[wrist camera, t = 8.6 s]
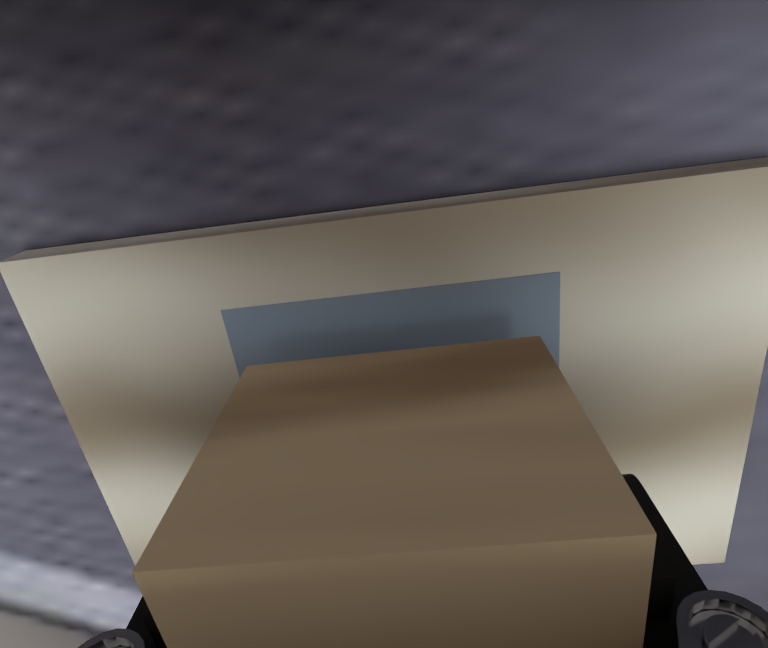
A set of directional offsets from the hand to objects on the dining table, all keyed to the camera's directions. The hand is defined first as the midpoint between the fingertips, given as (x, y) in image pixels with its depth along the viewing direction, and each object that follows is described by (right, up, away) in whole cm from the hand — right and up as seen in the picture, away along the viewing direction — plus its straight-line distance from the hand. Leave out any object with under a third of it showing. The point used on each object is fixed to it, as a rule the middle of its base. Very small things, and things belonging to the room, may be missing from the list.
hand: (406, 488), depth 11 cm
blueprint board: (0, +1, +3) cm, 3 cm away
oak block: (0, 0, +1) cm, 1 cm away
